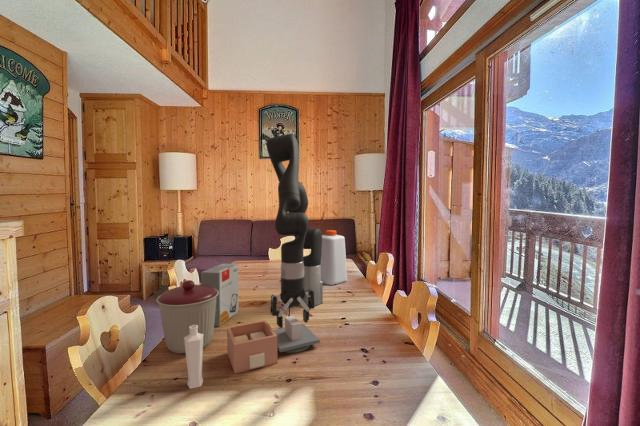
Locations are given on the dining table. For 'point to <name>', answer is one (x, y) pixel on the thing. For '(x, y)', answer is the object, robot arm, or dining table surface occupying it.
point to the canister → (187, 313)
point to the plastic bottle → (333, 258)
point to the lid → (294, 335)
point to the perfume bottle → (194, 357)
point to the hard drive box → (223, 290)
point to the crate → (251, 346)
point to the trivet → (297, 349)
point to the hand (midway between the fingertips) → (293, 324)
